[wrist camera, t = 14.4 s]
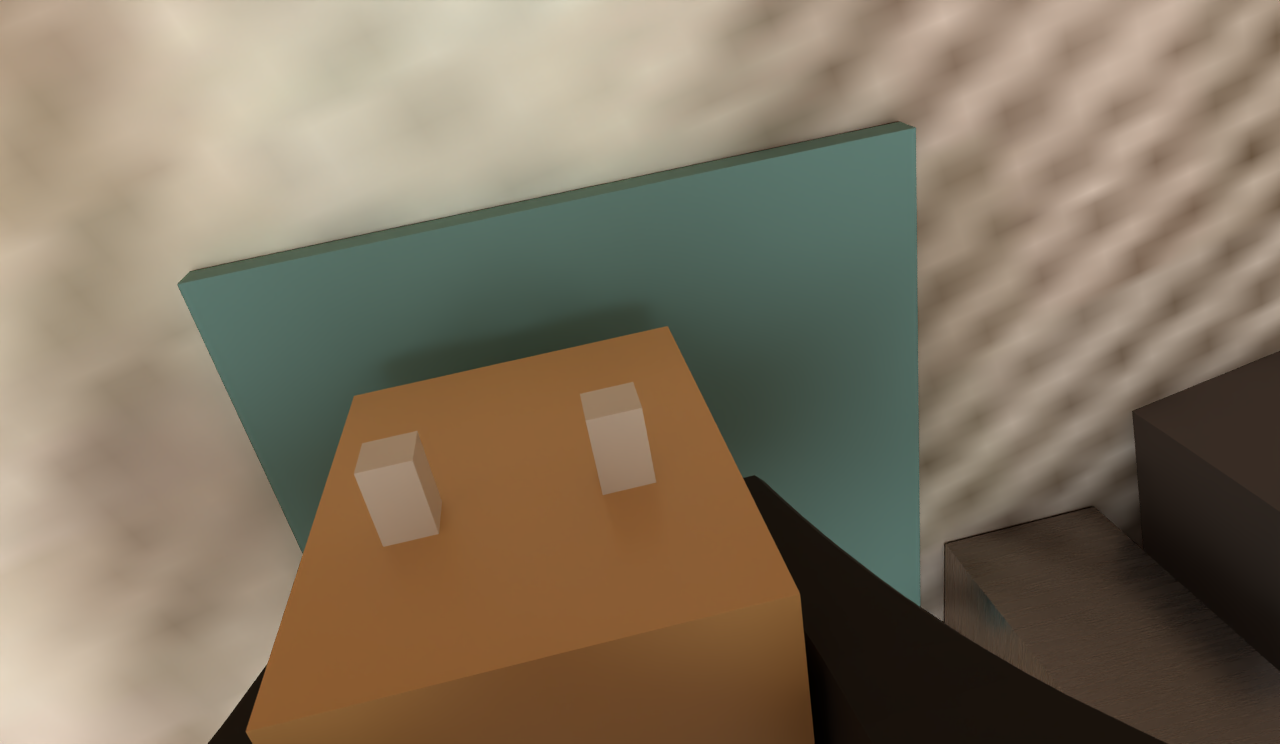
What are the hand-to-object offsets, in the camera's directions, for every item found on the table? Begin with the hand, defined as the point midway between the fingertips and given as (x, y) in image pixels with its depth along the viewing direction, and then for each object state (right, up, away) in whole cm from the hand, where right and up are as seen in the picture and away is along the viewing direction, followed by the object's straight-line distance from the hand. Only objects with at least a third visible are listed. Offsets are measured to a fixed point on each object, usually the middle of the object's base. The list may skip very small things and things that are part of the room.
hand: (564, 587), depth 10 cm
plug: (0, +1, +1) cm, 1 cm away
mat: (+1, +1, +3) cm, 4 cm away
